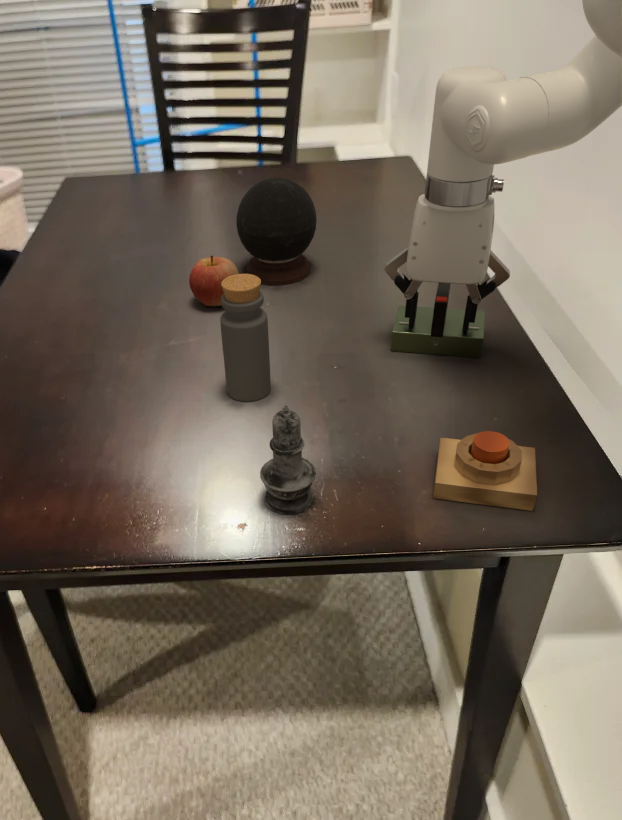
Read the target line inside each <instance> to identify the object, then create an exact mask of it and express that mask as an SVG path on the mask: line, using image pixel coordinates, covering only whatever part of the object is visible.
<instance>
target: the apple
mask: <svg viewBox="0 0 622 820" xmlns="http://www.w3.org/2000/svg"><path fill="white" fill-rule="evenodd" d="M239 272H240V271H239V270H238V267H237V266H236V264H235V263H234V262H233V261H232V260H230V259H229V258H226V257H223V256H214V255H213V254H210V255H209V256H207V257H203V258H200V259H199V260H198V261H196V262H195V264H194V265H193V267H192V269H191V271H190V274H189V278H188V283H189V289H190V291H191V292H192V294H193V296H194V297H195V298H196V299H197V300H198V301H199V303H201V304H203V306H207V307H222V303H221V297H222V295H223V294H224V292H223V289H222V286H221V283H222V281H223V280H224V279H225V278H227V277H229V276H231V275H236V274H240V273H239Z"/></svg>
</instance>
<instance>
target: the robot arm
mask: <svg viewBox="0 0 622 820" xmlns="http://www.w3.org/2000/svg"><path fill="white" fill-rule="evenodd" d="M582 10H583V13H584V16H585V20H586V21H587V24H588V25H589V27H590V30H591V31H592V32H593V34H594V36H593V37H592V38H591V39H590V40H589V41H588V42H587V43H586V44H585V45H584V46H583V47H582V48H581V50H580V51H579V52H578V53H576V55H575V56H574V57H573V58H572V59H570V60H569V61H568V62H567V63H566V64H565V65H564V66H563V67H561V68H560V69H555V70H550V71H544V72H539V73H534V74H529V75H525V76H520V77H518V78H512V79H507V77H506V74H505V73H504V72H503V71H502V70H501V69H498V68H496V67H493V66H484V65H483V66H482V65H468V66H467V65H466V66H458V67H455V68H451V69H448V70H447V71H445V72H443V73H442V74H441V76H440V77H439V79H438V81H437V83H436V86H435V87H436V88H435V95H434V104H433V114H432V121H431V122H432V123H431V132H430V139H429V140H430V141H429V142H430V143H429V150H428V160H427V161H428V162H427V169H426V178H425V188H424V193H422V194H421V195H419V196H418V199H417V201H416V205H415V209H414V213H413V219H412V224H411V229H410V233H409V234H410V235H409V242H408V245H407V247H405V248H404V249H402V251H400V252H398V254H396V255H395V256H394V257H392V258H391V259H390V260H388V261H387V262H386V263H385V266H384V267H383V268H384V272H385V273H386V275H387V276H388V277H389V278H390V280H392V281H393V283H394V285H395V286H396V287H397V289H398V290H400V292H401V293H402V294H403V296H404V299H405V306H406V308H405V318H409V326H408V327H412V326H414V323H415V319H416V312H417V307H418V302H419V291H418V290H419V289H420V286H421V285H422V283H423V282H425V283H437V284H438V283H451V284H456V285H466V288H467V291H468V294H469V295H467V298H466V304H465V309H464V310H465V315H464V322H463V330H464V331H468V327H469V323H475V318H476V312H477V311H478V306H479V304H480V303H481V302H482V300H483V299H485V298H486V297H488V295H490V294H492V293H493V292H495V290H496V289H497V288H498V287H500V286H502V285H503V284H504V283H505V282H506V281H508V280H509V279H510V277H511V271H510V269H509V268H508V267H507V266H506V264H504V263H503V261H502V260H501V259H500V258H499V257H498V256H497V255H496V253H494V252H493V251H492V243H493V236H494V227H495V226H494V225H495V198H494V197H493V195H492V194H494V193H495V194H496V192H497V193H498V192H500V193H502V192H503V190H504V185H505V179H500V178H498V177H496V176H495V174H494V175H493V173H494V172H493V171H494V167H495V165H500V164H501V165H502V164H506V163H510V162H514V161H517V160H521V159H525V158H527V157H531V156H535V155H539V154H544V153H548V152H553V151H557V150H560V149H563V148H566V147H568V146H572V145H574V144H576V143H577V142H579V141H580V140H582V139H584V138H585V137H586V136H588V135H589V134H590V133H592V132H593V131H594V130H596V129H597V128H598V127H599V126H600V125H602V124H603V123H604V122H605V121H606V120H607V119H608V118H609V117H611V116H612V115H613V114H614V113H615V112H616V111H617V110H619V109H621V107H622V0H582ZM404 264H406V268H405V271H406V275H405V274H404V272H402V271H401V270H400V267H402V266H403V265H404ZM488 269H490V271H492V273H494V274H493V275H492V276H491V277H490V278H487V279H486V276H487V272H488ZM485 279H486V280H485Z"/></svg>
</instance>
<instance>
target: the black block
mask: <svg viewBox="0 0 622 820" xmlns="http://www.w3.org/2000/svg"><path fill="white" fill-rule="evenodd" d="M451 284H452V283H437V289H436V294H435V299H434V304H433V308H434V312H433V320H432V328H431V335H430V336H431V337H443V332H444V326H445V320H446V314H447V309H448V307H449V299H450V292H451Z"/></svg>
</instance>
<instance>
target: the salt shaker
mask: <svg viewBox="0 0 622 820" xmlns="http://www.w3.org/2000/svg"><path fill="white" fill-rule="evenodd" d="M301 422H302V421H301V417H300V415H299V414H298V413H297V412H295V411H294V410H291V409H290V407H289V406H288V405H287V404H285V405H284V406H283V407H282V409H281V410H279V411H277V412H276V413H275V415H273V416H272V421H271V424H272V427H271V428H272V438H271V439H270V441H269V449H270V450H271V451H272V458H271V459H269V460H268V461H266V462H265V463H264V464H263V465H262V467H261V468H260V471H259V477H260V480H261V482H262V483H263V485H264V487H265V488H266V491H265V493H264V497H263V498H264V499H263V500H264V503H265V505H266V507H267V508H268V509H269V510H270V511H272V512H274V513H276V514H280V515H285V516H287V515H297V514H301V513H302V512H304V511H306V510H308V509H309V508H310V507H311V505H312V504H313V501H314V493H313V492H312V490H311V487H312V485H313V482H314V481H315V479H316V475H317V471H316V467H315V466H314V464H313V463H312V462H310V461H309V460H308V459H306V458H304V457H303V451H302V450H303V449H304V448H305V444H306V443H305V439H304V438H303V437H302V433H301V431H302V428H301V424H302V423H301Z"/></svg>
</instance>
